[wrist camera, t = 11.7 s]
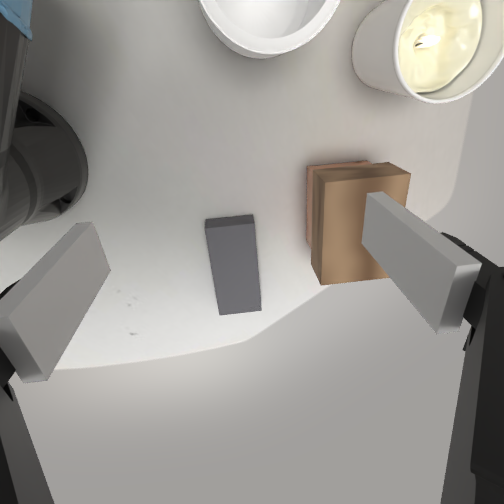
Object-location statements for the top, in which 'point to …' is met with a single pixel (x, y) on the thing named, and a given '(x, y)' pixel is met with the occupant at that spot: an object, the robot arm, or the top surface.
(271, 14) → the jar
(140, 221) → the top surface
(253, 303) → the block
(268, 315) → the top surface
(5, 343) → the robot arm
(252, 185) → the top surface
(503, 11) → the candle holder
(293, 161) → the top surface
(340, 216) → the brown wooden block
